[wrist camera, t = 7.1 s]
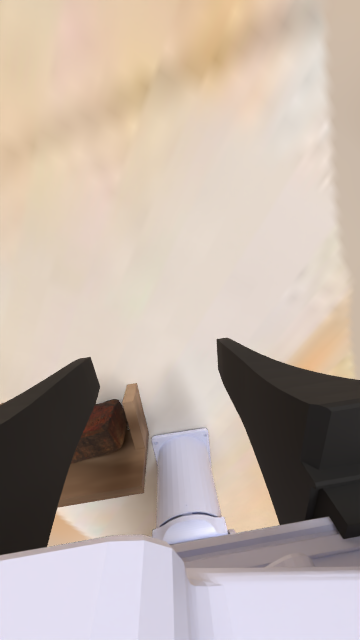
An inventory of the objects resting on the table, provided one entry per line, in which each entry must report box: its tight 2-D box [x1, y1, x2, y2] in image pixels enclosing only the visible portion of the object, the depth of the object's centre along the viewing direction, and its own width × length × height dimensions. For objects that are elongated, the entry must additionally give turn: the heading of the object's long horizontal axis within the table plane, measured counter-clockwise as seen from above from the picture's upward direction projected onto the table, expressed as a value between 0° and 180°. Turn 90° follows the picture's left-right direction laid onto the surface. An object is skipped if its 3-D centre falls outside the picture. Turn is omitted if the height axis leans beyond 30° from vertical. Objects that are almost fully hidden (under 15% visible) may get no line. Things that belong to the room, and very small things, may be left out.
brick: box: [71, 399, 128, 464], centre depth 23 cm, size 11×4×5 cm, turn 107°
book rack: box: [0, 383, 149, 508], centre depth 21 cm, size 9×16×7 cm, turn 97°
